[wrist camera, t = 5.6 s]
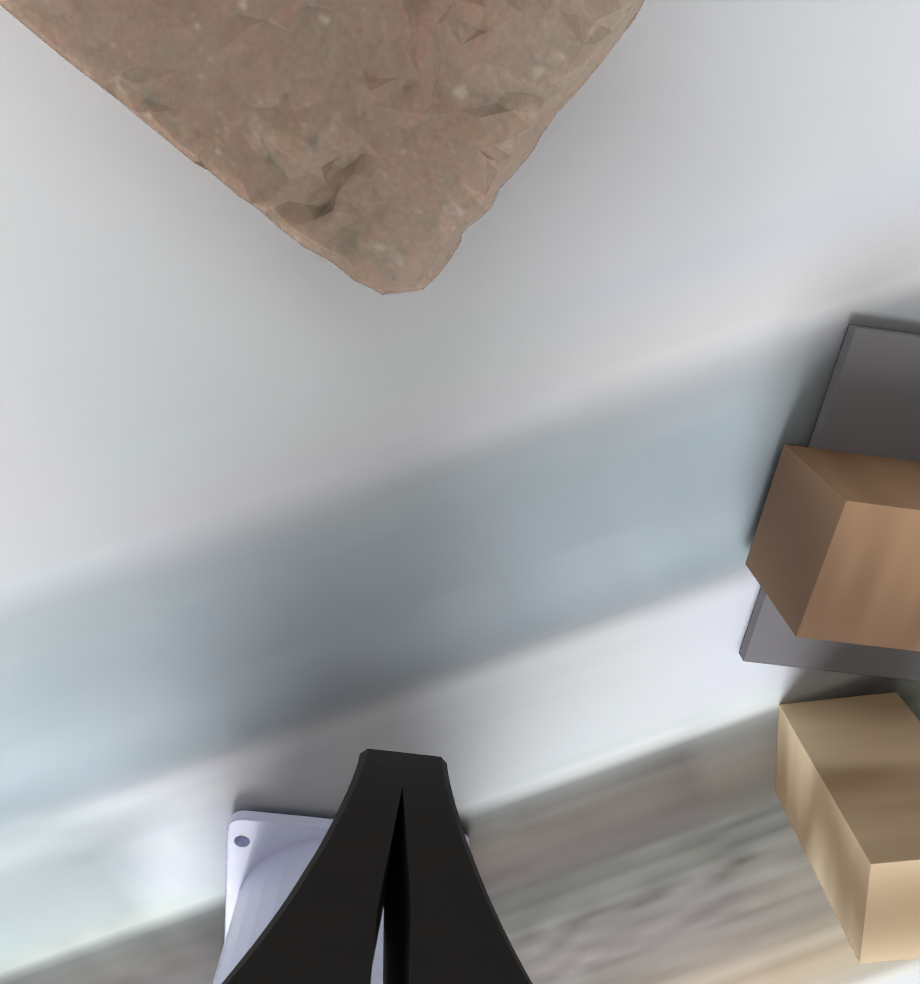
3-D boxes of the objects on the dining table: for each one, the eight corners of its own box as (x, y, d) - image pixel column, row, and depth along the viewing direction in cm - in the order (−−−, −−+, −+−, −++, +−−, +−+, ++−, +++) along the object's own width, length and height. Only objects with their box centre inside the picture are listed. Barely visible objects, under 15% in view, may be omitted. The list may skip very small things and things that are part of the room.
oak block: (885, 780, 26) (1000, 951, 21) (774, 791, 26) (859, 963, 21) (896, 691, 25) (1022, 849, 19) (778, 704, 25) (871, 864, 19)
